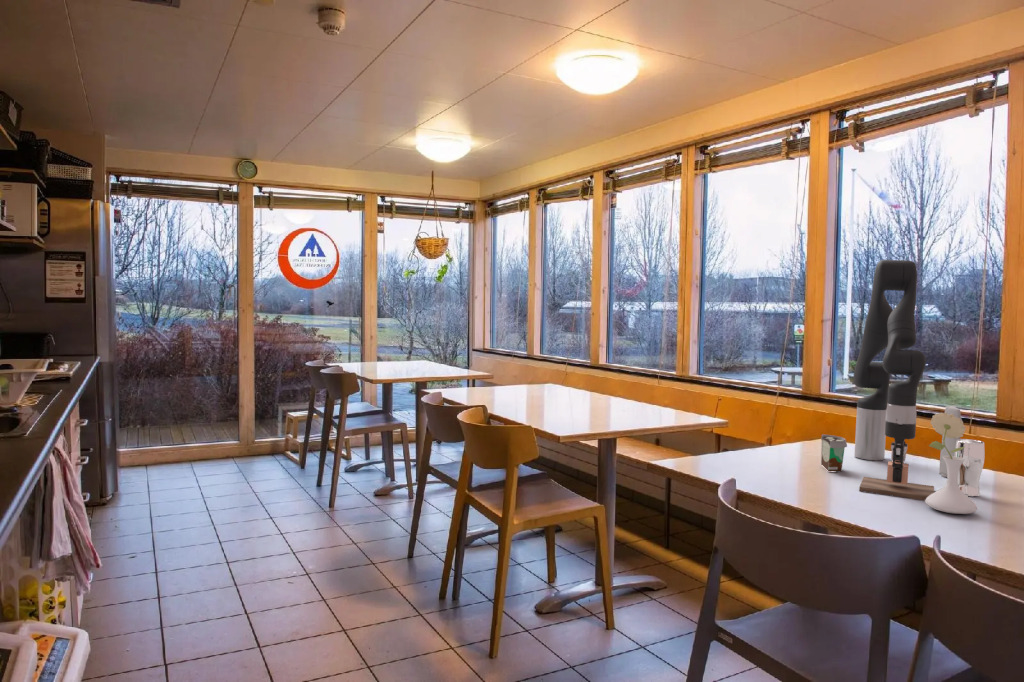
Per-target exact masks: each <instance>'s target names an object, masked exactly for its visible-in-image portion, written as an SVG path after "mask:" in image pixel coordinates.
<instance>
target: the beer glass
mask: <svg viewBox="0 0 1024 682" xmlns="http://www.w3.org/2000/svg"><path fill="white" fill-rule="evenodd" d="M964 446H965V447H964ZM960 447H964V448H963V449H962V450H960V451H957V452H955V457H961V458H964V459H965V461H964V462H963V463H962V464H961V466H960V468H959V472H958V487H959V489H960V490H961V491H962V492H963V493H964V494H965V495H967V496H979V497H981V491H980V479H981V476H982V473H983V468H984V466H985V465H984V464H985V455H986V454H985V442H984V441H982V440H977V439H967V438H960V439H957V441H956V448H960ZM956 448H955V449H956Z"/></svg>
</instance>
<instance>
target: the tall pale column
mask: <svg viewBox="0 0 1024 682" xmlns="http://www.w3.org/2000/svg"><path fill="white" fill-rule="evenodd" d="M944 413H948V414H949V415H950V414H953V415H954V417H956V418H960V421H963V419H962V416H961V415H962V414H961V413H962V412H961V409H960V408H957V407H956V406H954V405H949V406H947V405H946V406H945V409H944ZM941 436H942V438H941V443H942V444H943V438H944V435H941ZM957 439H961V437H958V438H955V437H954V438H949V437H945V445H946V447H947V449H948V451H949V452H951V451H952V450H954V449H955V448H956V441H957ZM943 445H944V444H943ZM950 454H951V456H955V452H951V453H950ZM939 455H940V457H939V458H940V459H939V469H938V470H939V471H938V472H939V473H938V474H939V475H940V476H941V477H943V478H946V477H947V465H946V463H945V461H944V459H943V458H942V456H950V455H949V454H948V452H947V450H946V449H945V447H944V448H943V449H942V450H940V453H939Z"/></svg>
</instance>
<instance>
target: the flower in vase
mask: <svg viewBox="0 0 1024 682" xmlns="http://www.w3.org/2000/svg"><path fill="white" fill-rule="evenodd" d="M929 423H930V425H931V426H932V429H934V431H935V432H936V433H938V435H941V436H942V435H944V438H943V444H944V445H943V444H942V442H939V441H938V440H935V441H932V442H931V443H930V444H928V447H930V448H933V449H936V450H938V451H941V450H942V449H943V448H944V447H945V449H946V450H947V452H948V454H949V455H950V456H942V458H943V459H944V461H945V463H946V465H947V478H946V479H947V480H946V483H945V485H944V486H943V487H942V488H940V489H939V490H936V491H934V493H933V494H931V495H929V496H928V497H927V498H926V500H924V502H925V504H926V505H927V506H928V507H930V508H932V509H934V510H935V511H936V510H937V511H940V512H943V513H948V514H955V515H957V514H958V515H968V514H973V513H976V512H977V511H978V506H977V504H976V503H975V502H974V501H973V500H972V498H971V497H968V496H967V495H965V494H964V493H963V492H962V491H961V490H960V489H959V487H958V472H959V468H960V466H961V464H962V463H963V462H964V461H965V459H964V458H961V457H955V456H951V454H950V453H951V452H957V451H960V450H962V449H963V448H964V447H965V446H964V447H960V448H956V449H954V450H952V451H951V452H949V451H948V449H947V447H946V445H945V437H949V438H954V437H955V438H958V437H960V438H962V437H964V434H965V432H966V431H967V429H966V426H965V425H964V421H963V420H962V421H960V418H956V417H954V415H953V414H950V415H949V414H948V413H945V412H944V413H943V412H940V413H935V414H934V415H932V418H931V419H930V422H929Z"/></svg>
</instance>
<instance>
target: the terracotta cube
mask: <svg viewBox="0 0 1024 682" xmlns="http://www.w3.org/2000/svg"><path fill="white" fill-rule="evenodd" d="M895 463H897V464H901V463H899V462H895ZM892 464H893V461H892V460H891V461H889V460H888V463H887V472H886V474H887V475H886V480H887V482H890V483H897V484H905V485H907V483H909V463H907V462H904V463H903V470H902V481H901V483H898V482H893V467H892Z"/></svg>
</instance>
